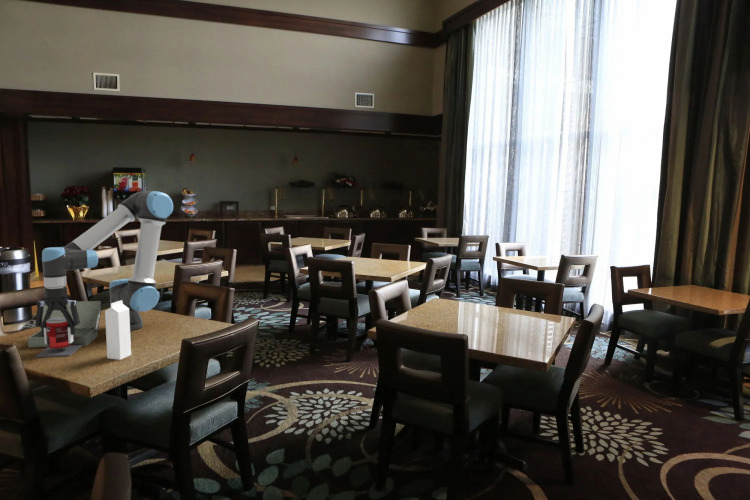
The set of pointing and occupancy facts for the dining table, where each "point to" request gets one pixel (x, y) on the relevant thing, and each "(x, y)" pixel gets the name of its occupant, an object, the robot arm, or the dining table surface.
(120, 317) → the milk
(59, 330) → the canned food
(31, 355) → the dining table surface
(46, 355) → the pad
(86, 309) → the case
